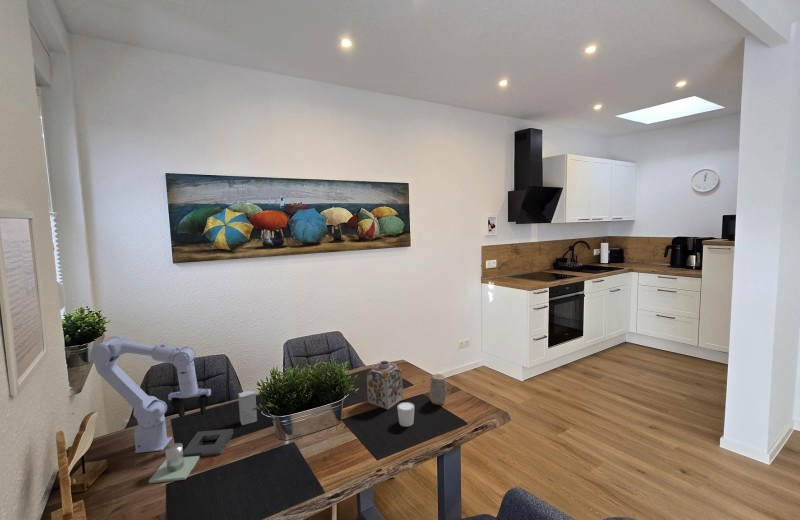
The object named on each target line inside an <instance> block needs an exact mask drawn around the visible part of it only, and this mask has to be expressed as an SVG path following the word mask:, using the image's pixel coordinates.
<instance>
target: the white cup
mask: <svg viewBox="0 0 800 520" xmlns="http://www.w3.org/2000/svg"><path fill="white" fill-rule="evenodd" d="M396 408H397V415H398V423H399V425H400V426H401V427H411V426H412V425H413V424H414V419H415V404H414V403H412V402H407V401H405V402H404V401H403V402H400V403H398V404H397V406H396Z"/></svg>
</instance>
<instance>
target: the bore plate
mask: <svg viewBox="0 0 800 520" xmlns="http://www.w3.org/2000/svg"><path fill="white" fill-rule="evenodd" d="M233 435H234V429H233V428H228V429H227V428H225V429H216V430H215V429H214V430H203V431H202V430H201V431H197V432H196V434H195V435H193V436H194V437H193V438H192V439H191V440H190V442H189V443H188V444H187V445H186V447H185V448H184V449H183V455H184V457H192V456H199V457H207V456H216V455H222V454H223V452H224V451H225V449H226V447H227V446H228V444H229V442H230V440H231V438H232V436H233ZM207 441H209V442H210V441H215V443H214V444H204V445H203V443H204V442H207Z"/></svg>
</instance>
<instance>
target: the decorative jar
mask: <svg viewBox="0 0 800 520" xmlns="http://www.w3.org/2000/svg"><path fill="white" fill-rule="evenodd" d="M402 373H403V371H402V369H401V368H400V367H399V366H397V364H396V363H391V362H390V361H388V360H381V361H379V362H378V363H376V364H374V365H372V366H371V367H370V369H369V370H368V372H367V374H366V389H367V390H366V391H367V392H366V393H367V403H368V404H370V405H372V406H376V407H379V408H382V409H385V410H390V409H391V408H393V407H394V406H395V405H398V404H399V402H401V401H402V400H403V399H404V392H403V391H404V390H403V389H404V387H403V374H402Z"/></svg>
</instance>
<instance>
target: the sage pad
mask: <svg viewBox="0 0 800 520" xmlns="http://www.w3.org/2000/svg"><path fill="white" fill-rule="evenodd" d="M200 457H201V456H192V457H184V466H183V468H181V469H180V470H178V471H175V472H168V471H167V464H166V459H165V460H164V461H163V463H162V464H161V465H160V466H159V468H157V470H156V471H155V472H154V474H152V476H151V478H149V480H148V484H152V483H153V484H154V483H164V482H173V481H174V482H175V481H182V480H186V479H187V477H189V474H190V473H191V471H192V470H194V469H193V468H194V467H195V465H197V462H199V460H200Z"/></svg>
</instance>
